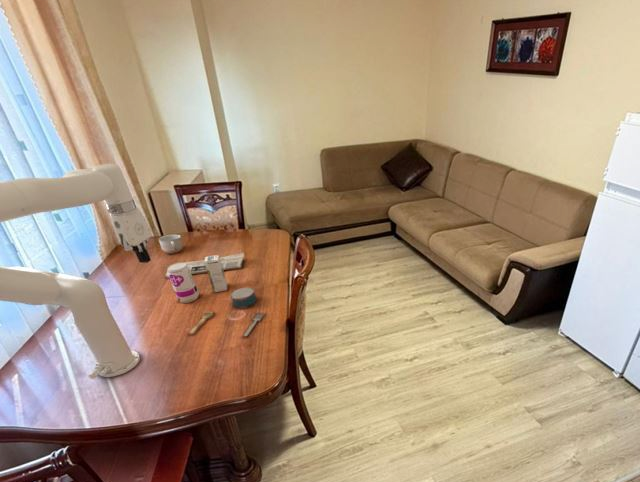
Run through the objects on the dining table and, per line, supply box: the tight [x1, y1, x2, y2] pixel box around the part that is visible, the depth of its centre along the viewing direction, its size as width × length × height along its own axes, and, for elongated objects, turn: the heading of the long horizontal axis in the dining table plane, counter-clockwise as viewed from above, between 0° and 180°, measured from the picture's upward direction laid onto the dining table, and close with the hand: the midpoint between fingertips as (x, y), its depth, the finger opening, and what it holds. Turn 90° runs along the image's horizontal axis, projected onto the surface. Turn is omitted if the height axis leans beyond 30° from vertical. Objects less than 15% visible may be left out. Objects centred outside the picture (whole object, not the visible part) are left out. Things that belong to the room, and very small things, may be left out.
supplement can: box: [166, 262, 200, 304], centre depth 159 cm, size 8×8×15 cm
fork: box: [243, 313, 265, 338], centre depth 143 cm, size 14×3×1 cm, turn 172°
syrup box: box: [204, 254, 228, 293], centre depth 165 cm, size 6×6×14 cm
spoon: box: [188, 310, 215, 336], centre depth 146 cm, size 14×4×1 cm, turn 172°
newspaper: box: [165, 252, 245, 279], centre depth 187 cm, size 35×12×4 cm, turn 100°
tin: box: [230, 287, 257, 310], centre depth 156 cm, size 9×9×5 cm
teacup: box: [158, 234, 184, 254], centre depth 204 cm, size 14×11×8 cm
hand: (145, 261), depth 130 cm, fingers closed
